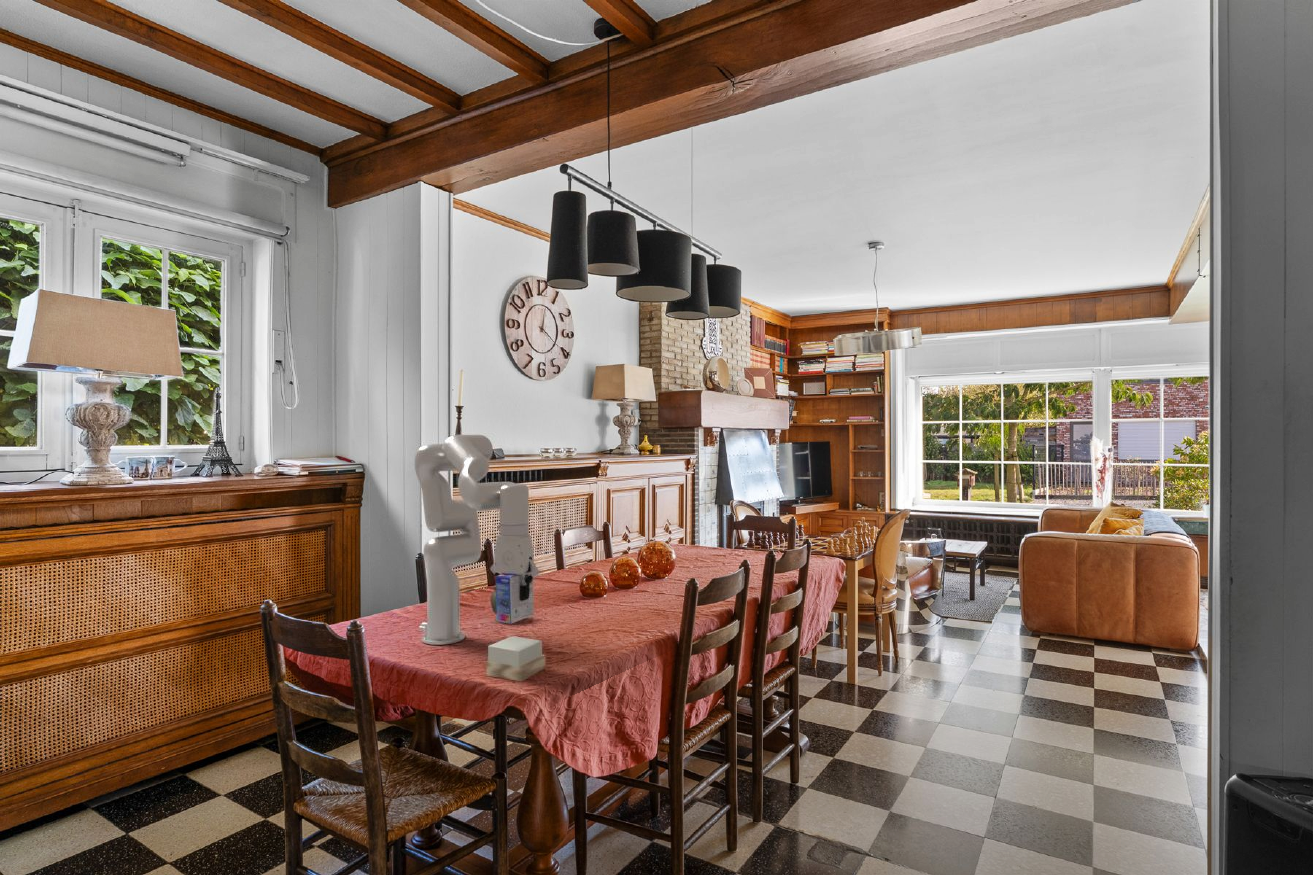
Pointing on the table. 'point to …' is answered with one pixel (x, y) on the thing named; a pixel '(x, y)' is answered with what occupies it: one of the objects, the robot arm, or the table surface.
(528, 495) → the robot arm
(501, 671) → the tower bottom block
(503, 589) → the ink cartridge box
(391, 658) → the table surface
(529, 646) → the tower top block
